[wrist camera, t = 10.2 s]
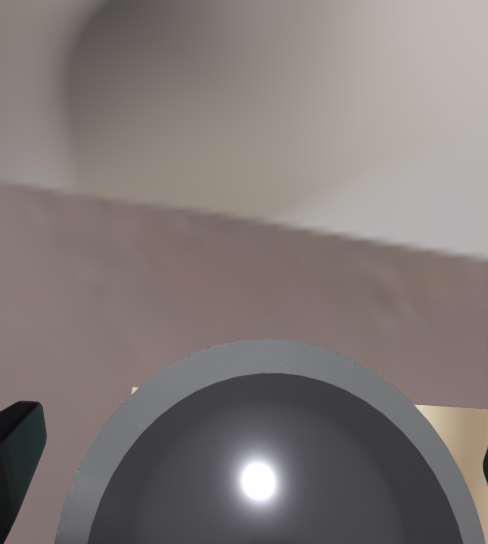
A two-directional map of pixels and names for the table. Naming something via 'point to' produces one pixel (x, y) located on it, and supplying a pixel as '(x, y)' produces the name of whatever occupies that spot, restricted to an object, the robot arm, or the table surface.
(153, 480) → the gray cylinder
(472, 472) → the rail board
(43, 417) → the robot arm
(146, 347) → the table surface
